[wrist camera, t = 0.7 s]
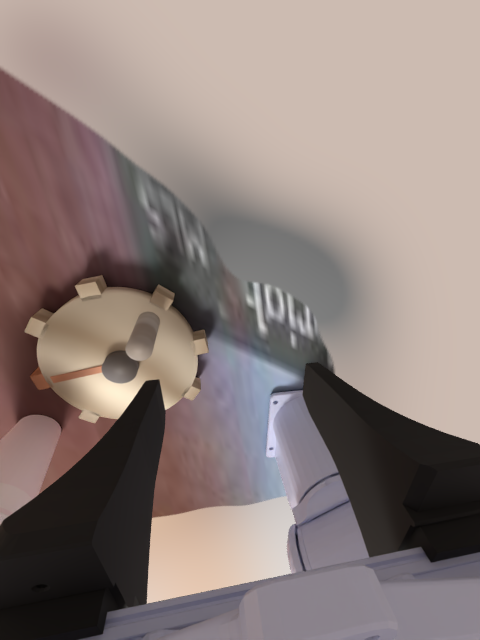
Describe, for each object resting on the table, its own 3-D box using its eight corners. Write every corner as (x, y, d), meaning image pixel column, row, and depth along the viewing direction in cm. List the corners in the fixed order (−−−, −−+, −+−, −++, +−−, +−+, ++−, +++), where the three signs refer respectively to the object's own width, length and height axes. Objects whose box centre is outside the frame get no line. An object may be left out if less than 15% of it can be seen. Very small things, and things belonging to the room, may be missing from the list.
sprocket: (160, 431, 27) (153, 484, 22) (8, 379, 22) (-44, 433, 17) (238, 329, 23) (249, 367, 18) (74, 237, 18) (31, 256, 13)
